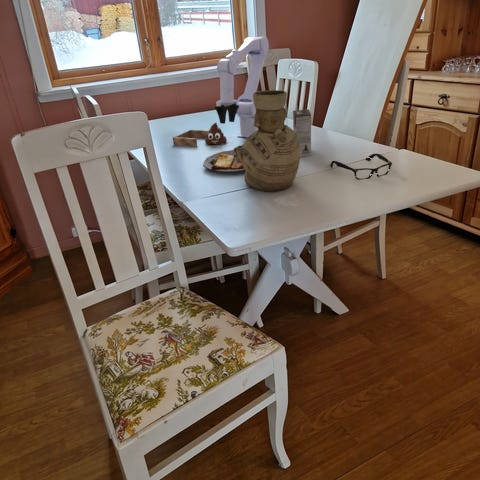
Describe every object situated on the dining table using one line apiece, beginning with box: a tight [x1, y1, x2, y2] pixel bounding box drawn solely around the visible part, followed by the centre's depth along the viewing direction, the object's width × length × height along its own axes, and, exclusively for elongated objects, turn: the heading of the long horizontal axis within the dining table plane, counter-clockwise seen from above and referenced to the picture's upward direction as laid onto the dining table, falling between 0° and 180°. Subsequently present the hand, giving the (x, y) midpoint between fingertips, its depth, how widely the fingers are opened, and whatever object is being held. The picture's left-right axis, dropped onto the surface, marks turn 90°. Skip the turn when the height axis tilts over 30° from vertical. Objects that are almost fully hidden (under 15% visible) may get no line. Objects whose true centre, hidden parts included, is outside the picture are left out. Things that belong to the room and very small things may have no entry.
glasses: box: [329, 153, 393, 180], centre depth 145 cm, size 17×18×5 cm
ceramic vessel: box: [233, 89, 301, 193], centre depth 133 cm, size 19×21×30 cm
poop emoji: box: [204, 122, 228, 146], centre depth 190 cm, size 10×8×9 cm
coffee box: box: [292, 109, 312, 157], centre depth 164 cm, size 9×6×16 cm
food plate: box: [202, 149, 245, 173], centre depth 162 cm, size 25×23×4 cm
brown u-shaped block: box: [172, 129, 209, 148], centre depth 197 cm, size 13×15×4 cm
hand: (227, 122), depth 183 cm, fingers open, 7 cm apart
